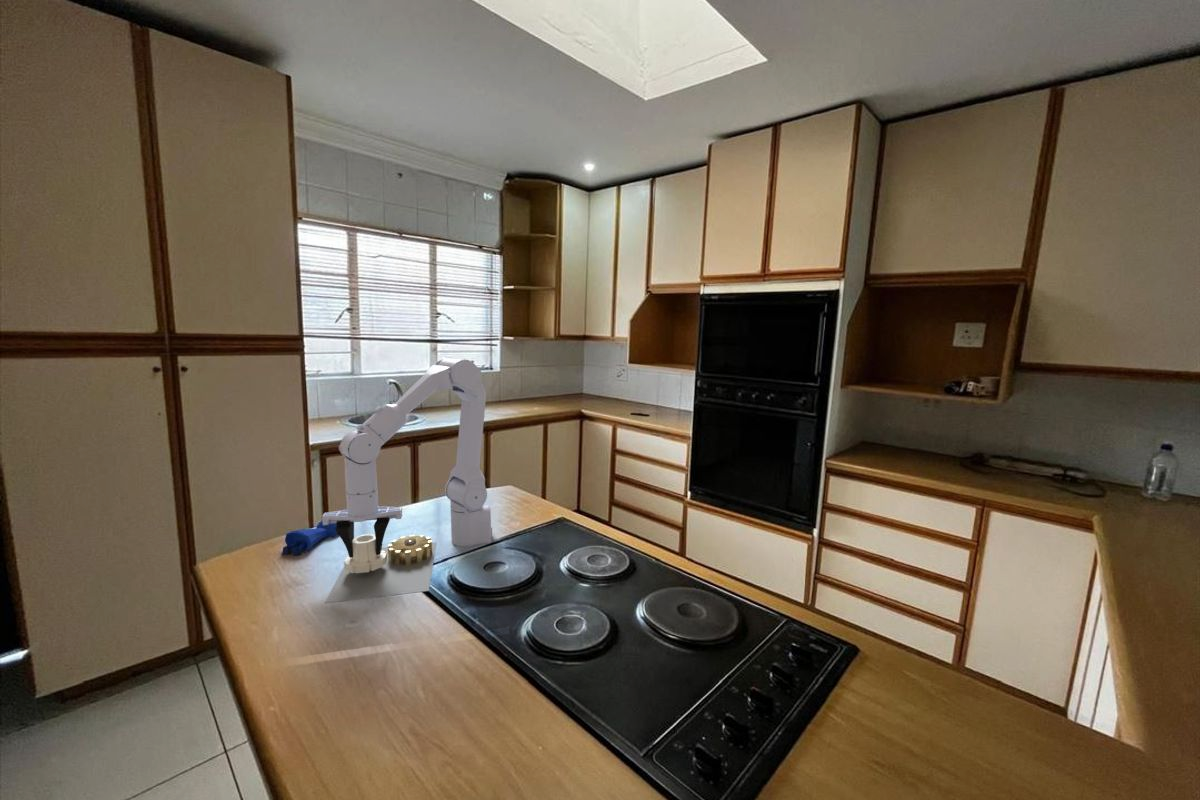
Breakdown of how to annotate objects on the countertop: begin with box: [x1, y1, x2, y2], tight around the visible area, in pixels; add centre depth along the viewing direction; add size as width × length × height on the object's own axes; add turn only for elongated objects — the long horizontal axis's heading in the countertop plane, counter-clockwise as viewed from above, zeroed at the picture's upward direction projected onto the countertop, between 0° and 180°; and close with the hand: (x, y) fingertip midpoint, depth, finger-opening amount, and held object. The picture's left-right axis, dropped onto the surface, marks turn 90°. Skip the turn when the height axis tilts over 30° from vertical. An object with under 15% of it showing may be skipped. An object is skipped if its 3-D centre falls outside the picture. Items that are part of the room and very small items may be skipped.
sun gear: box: [387, 534, 433, 566], centre depth 106 cm, size 9×9×4 cm
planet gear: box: [343, 533, 387, 573], centre depth 99 cm, size 8×8×6 cm
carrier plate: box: [324, 542, 437, 604], centre depth 101 cm, size 18×22×1 cm
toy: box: [281, 519, 340, 557], centre depth 113 cm, size 7×6×15 cm
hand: (365, 554), depth 99 cm, fingers closed on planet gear, 4 cm apart
